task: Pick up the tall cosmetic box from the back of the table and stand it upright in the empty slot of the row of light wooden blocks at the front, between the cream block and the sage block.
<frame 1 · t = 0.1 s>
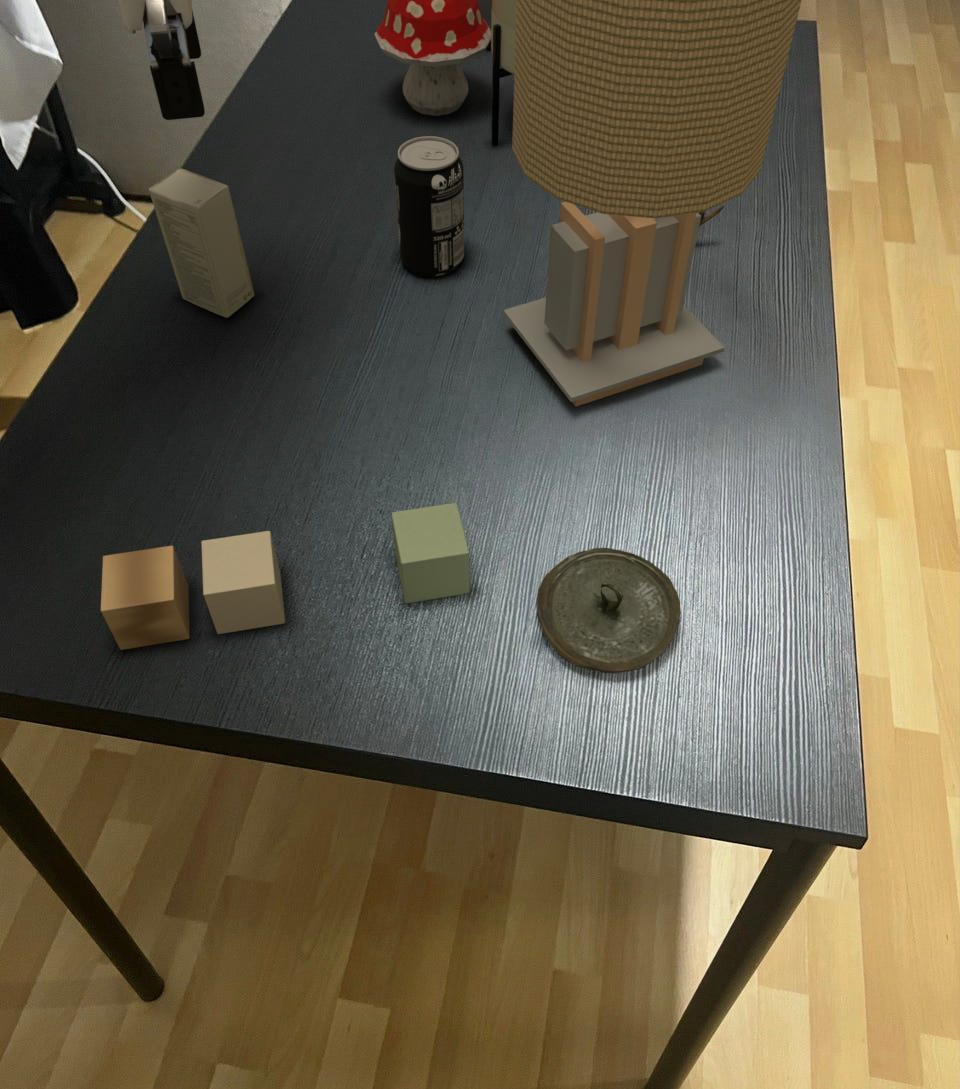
hand: (183, 86, 80), 22 cm above the table, tool pointing down, fingers open, 9 cm apart
lid: (605, 622, 75), on the table
beverage can: (432, 262, 103), on the table
block a: (155, 617, 75), on the table
desk lamp: (609, 350, 94), on the table
computer mouse: (524, 50, 133), on the table
decorative mushroom: (436, 105, 123), on the table
block b: (249, 602, 75), on the table
block c: (431, 573, 77), on the table
cosmetic box: (217, 299, 99), on the table
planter: (555, 131, 120), on the table
eagle figurine: (669, 228, 107), on the table
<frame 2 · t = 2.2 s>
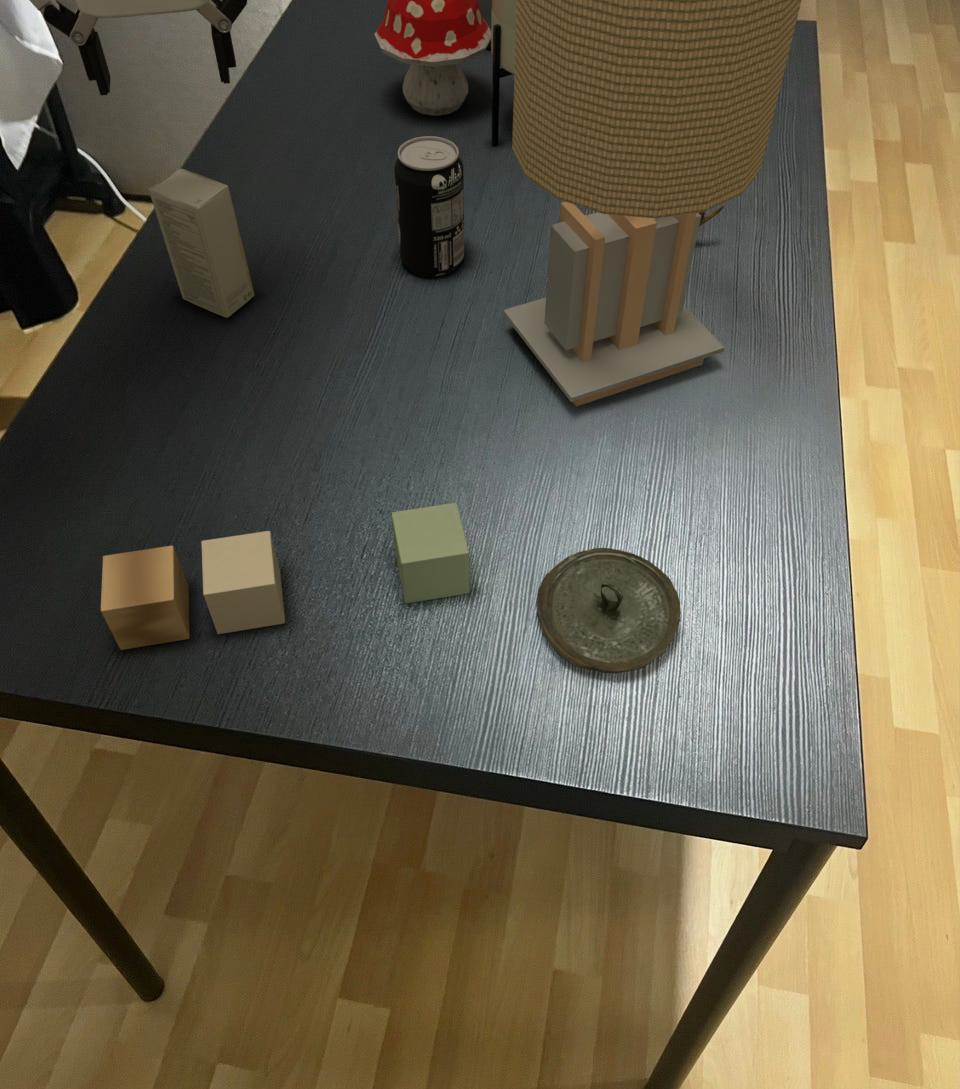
hand: (166, 81, 82), 22 cm above the table, tool pointing down, fingers open, 9 cm apart
nothing on the table moved.
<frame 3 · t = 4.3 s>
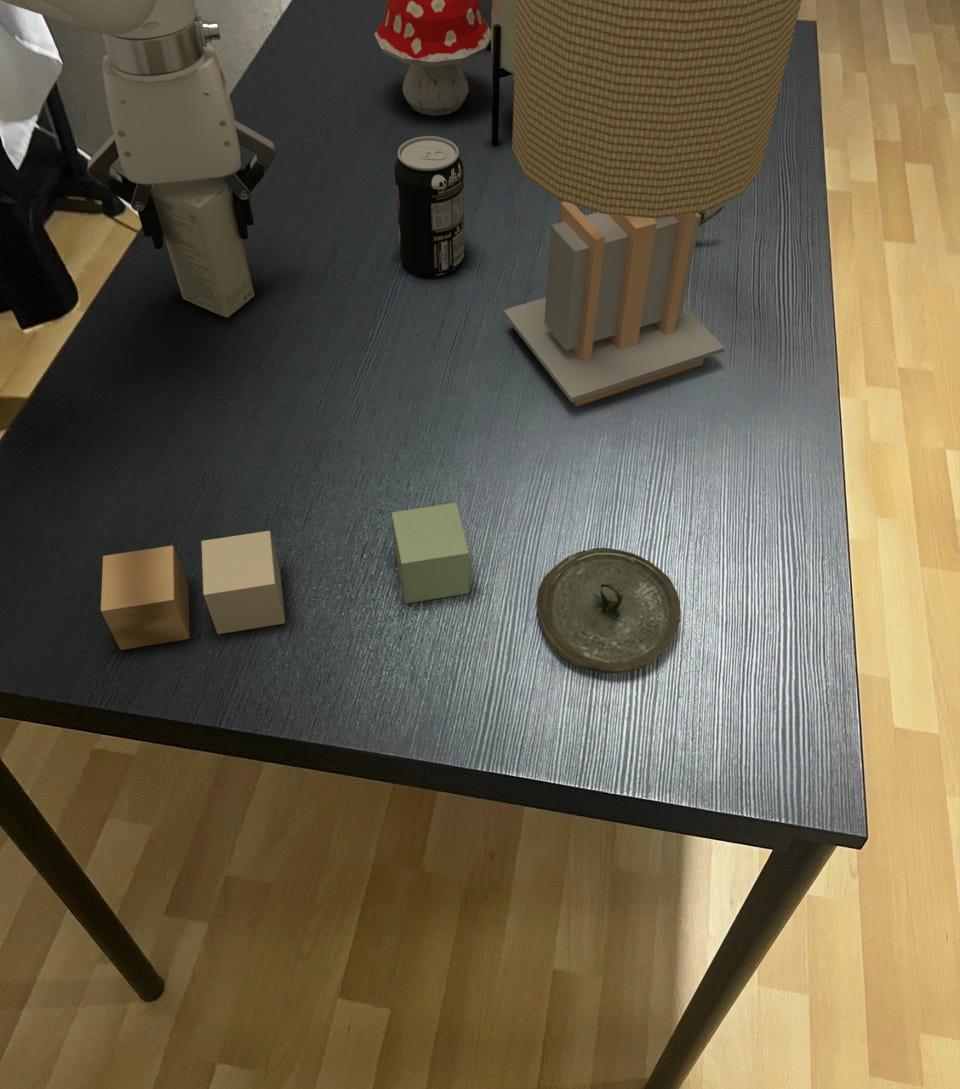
hand: (201, 234, 93), 7 cm above the table, tool pointing down, fingers closed on cosmetic box, 7 cm apart
cosmetic box: (217, 299, 99), on the table, touching gripper
everything else where it was.
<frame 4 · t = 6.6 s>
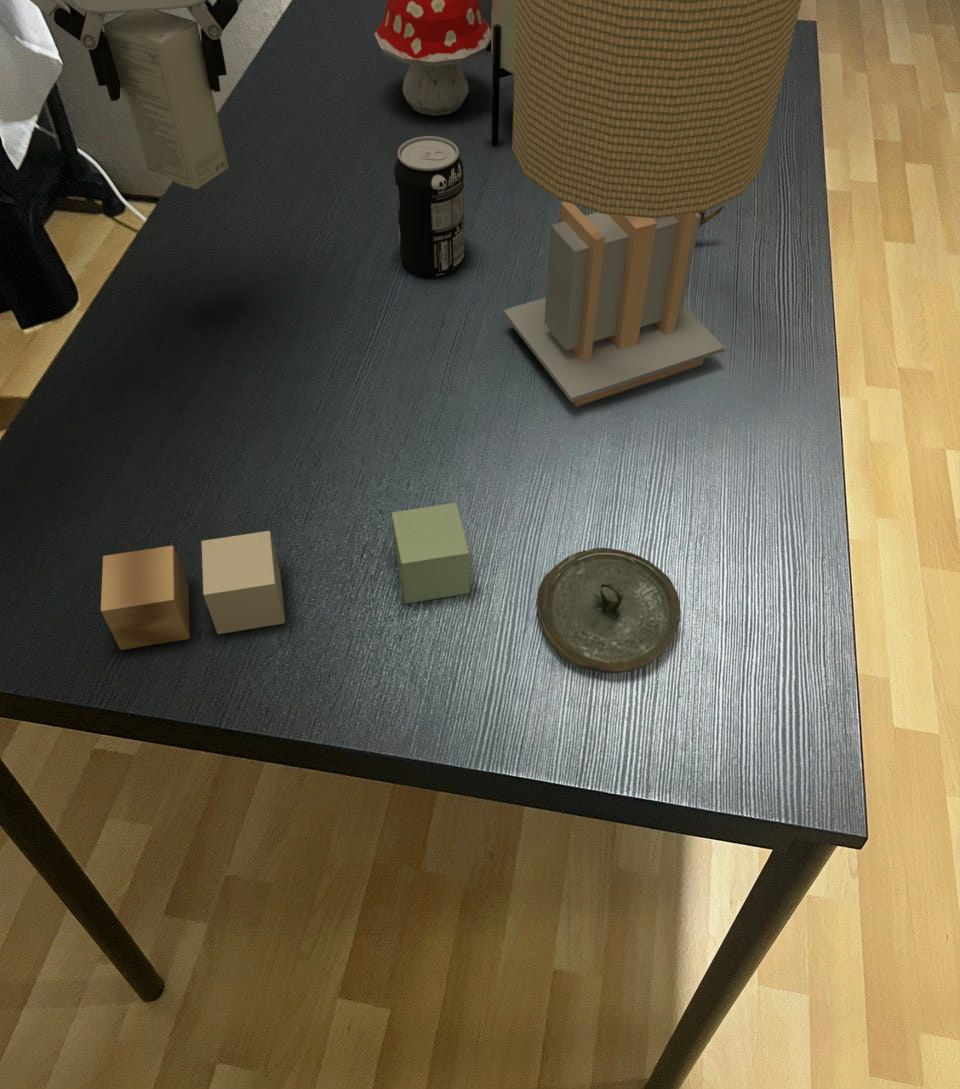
hand: (165, 86, 80), 22 cm above the table, tool pointing down, fingers closed on cosmetic box, 7 cm apart
cosmetic box: (185, 172, 85), point 15 cm above the table, touching gripper
everything else where it was.
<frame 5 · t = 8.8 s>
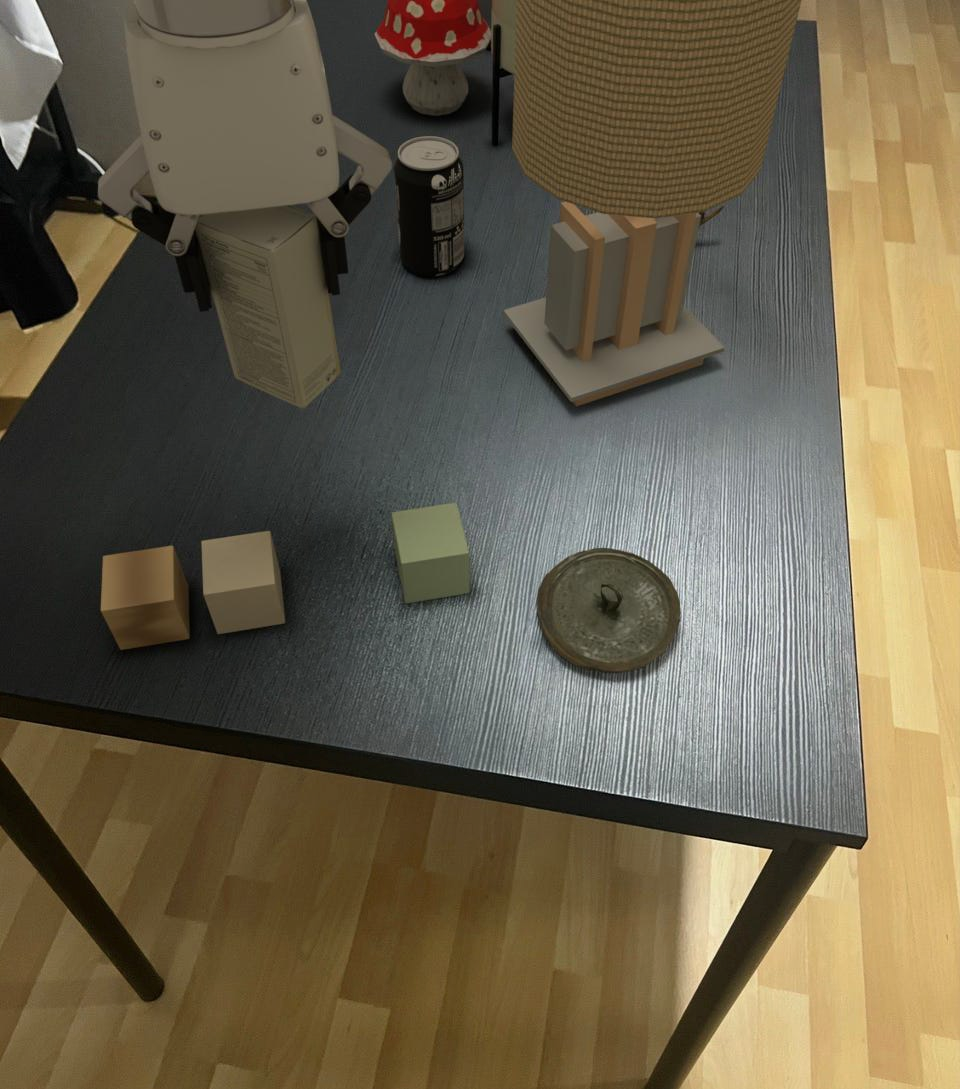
hand: (268, 288, 62), 24 cm above the table, tool pointing down, fingers closed on cosmetic box, 7 cm apart
cosmetic box: (285, 379, 67), point 16 cm above the table, touching gripper
everything else where it was.
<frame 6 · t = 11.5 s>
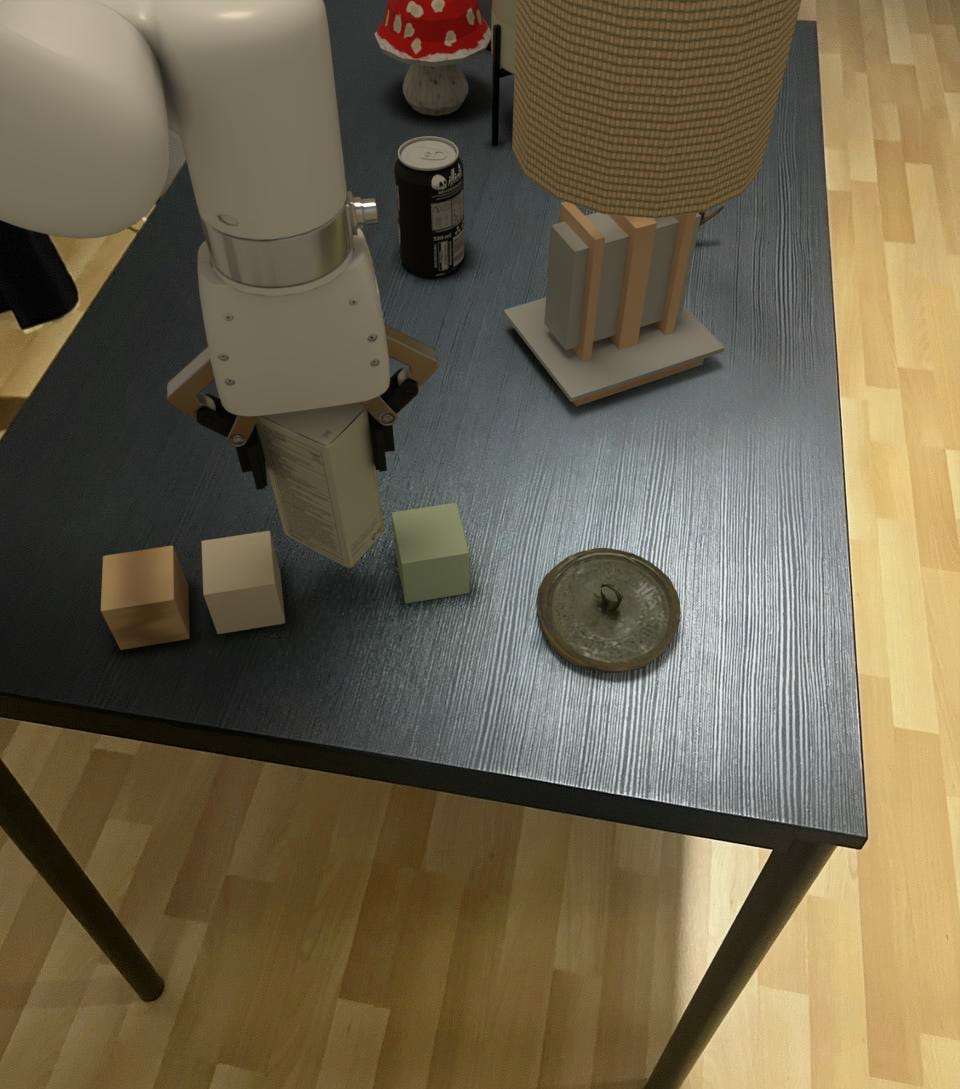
hand: (320, 463, 66), 14 cm above the table, tool pointing down, fingers closed on cosmetic box, 7 cm apart
cosmetic box: (332, 535, 71), point 6 cm above the table, touching gripper
everything else where it was.
when the fingers open (7 cm above the table, at t = 13.6 s): cosmetic box stays where it is, on the table.
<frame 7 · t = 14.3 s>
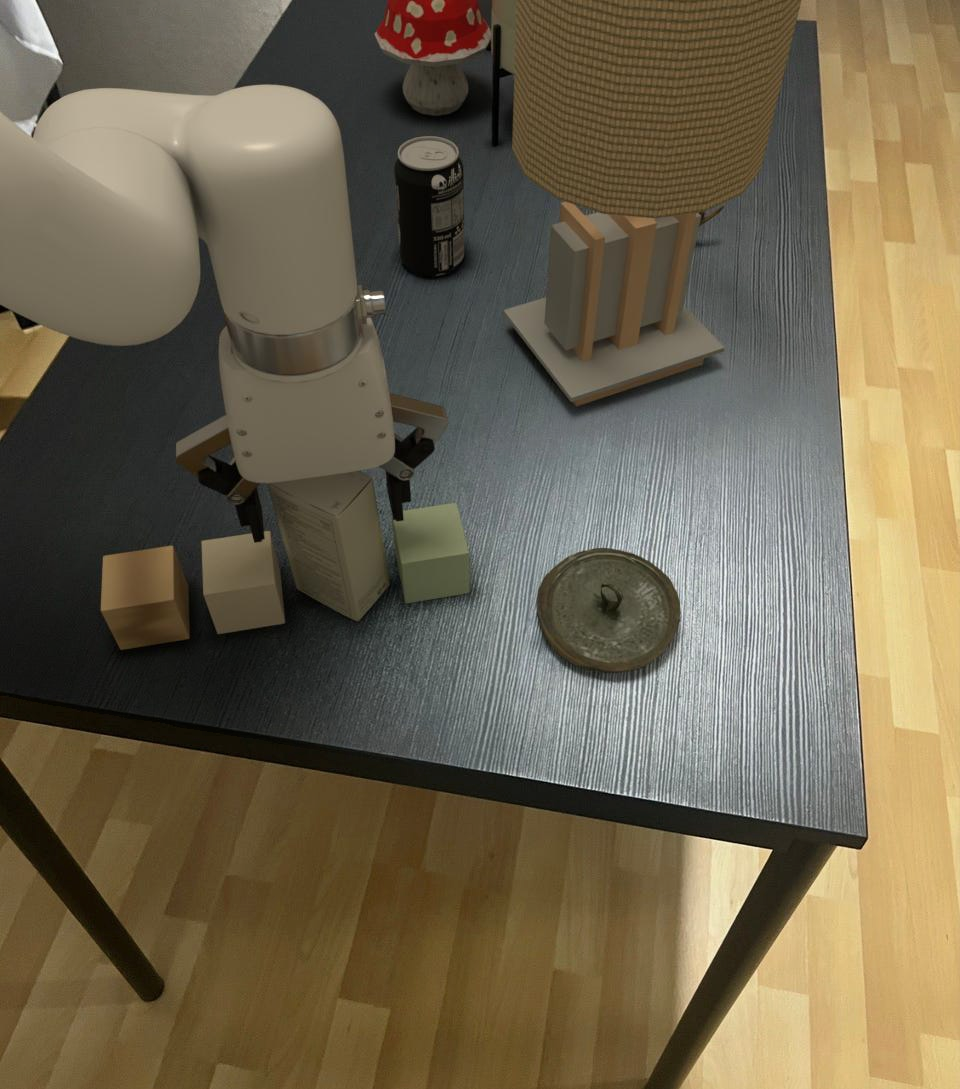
hand: (327, 516, 70), 8 cm above the table, tool pointing down, fingers open, 9 cm apart
cosmetic box: (341, 589, 76), on the table
everything else where it was.
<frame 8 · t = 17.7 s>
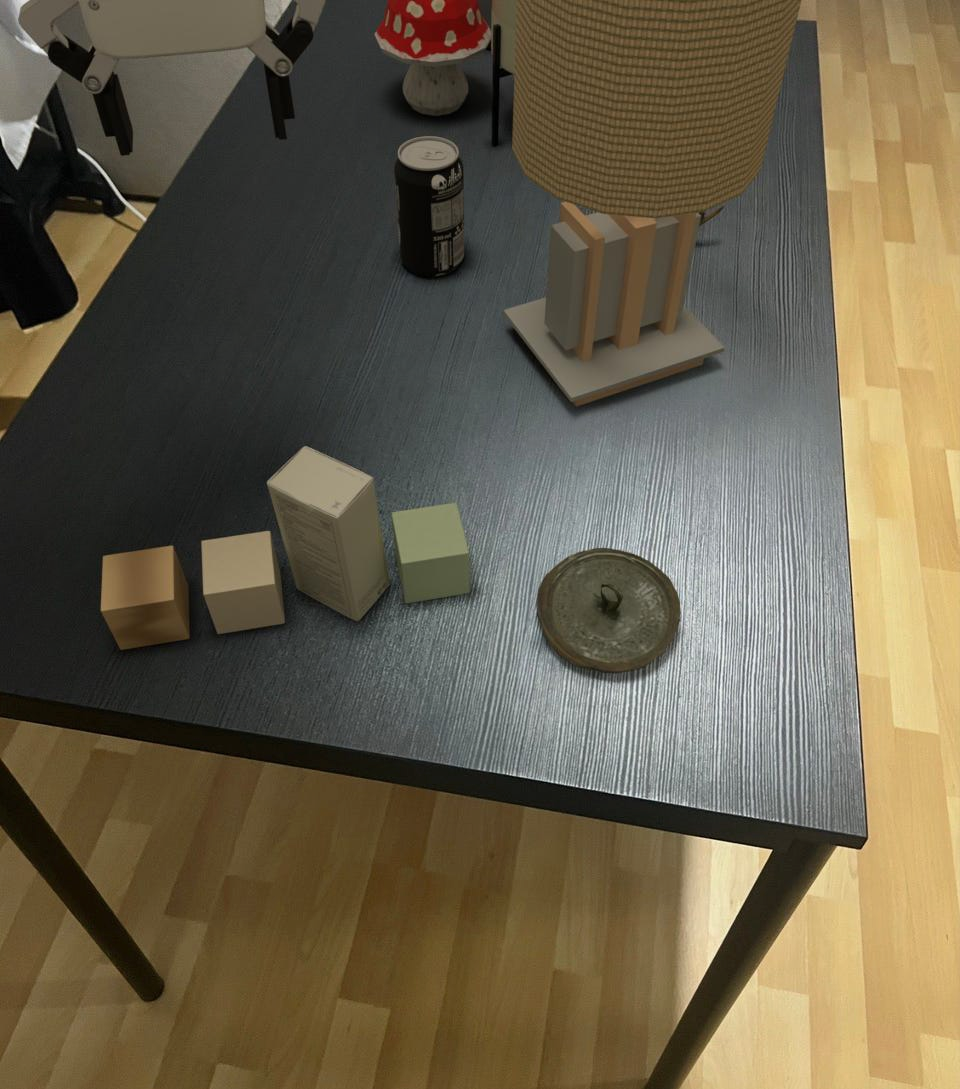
hand: (204, 136, 64), 28 cm above the table, tool pointing down, fingers open, 9 cm apart
nothing on the table moved.
at the end: cosmetic box 0.1 cm from the target spot on the table beside the block b, on the table; cosmetic box tilted 0°; block c moved 0.0 cm from its start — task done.
